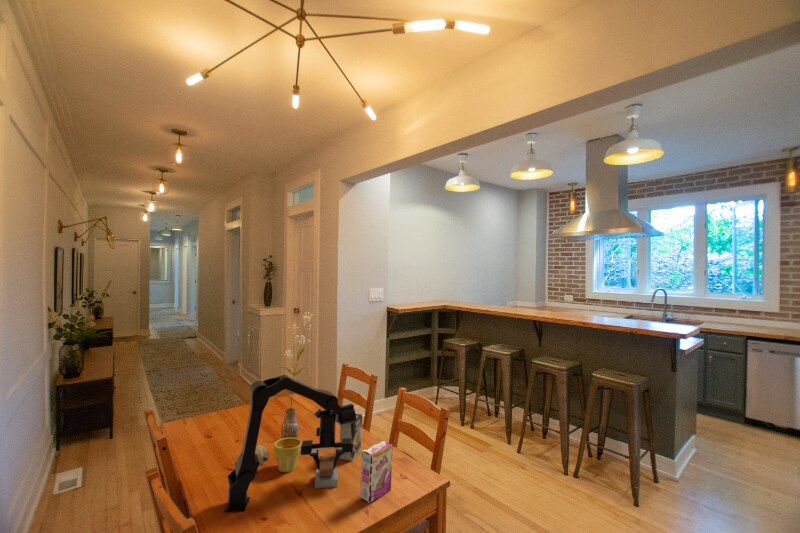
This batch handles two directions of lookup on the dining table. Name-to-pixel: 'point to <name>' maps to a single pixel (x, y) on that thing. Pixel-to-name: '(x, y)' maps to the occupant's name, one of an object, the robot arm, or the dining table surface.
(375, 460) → the candy bar box
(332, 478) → the plinth
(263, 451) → the grey rounded lump
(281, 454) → the plant pot
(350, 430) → the coffee box
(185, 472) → the dining table surface
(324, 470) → the walnut cube
